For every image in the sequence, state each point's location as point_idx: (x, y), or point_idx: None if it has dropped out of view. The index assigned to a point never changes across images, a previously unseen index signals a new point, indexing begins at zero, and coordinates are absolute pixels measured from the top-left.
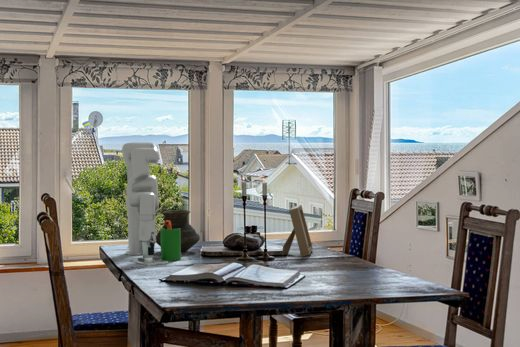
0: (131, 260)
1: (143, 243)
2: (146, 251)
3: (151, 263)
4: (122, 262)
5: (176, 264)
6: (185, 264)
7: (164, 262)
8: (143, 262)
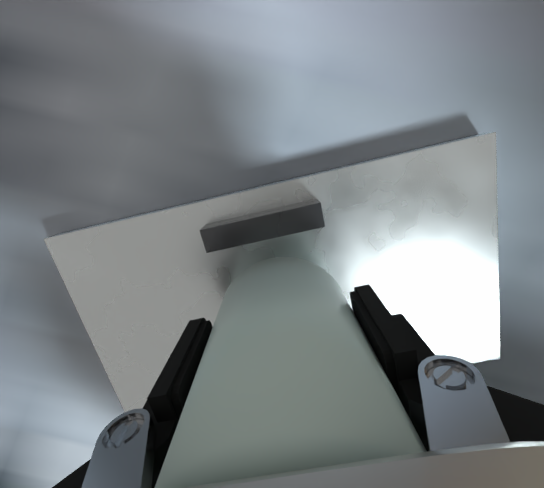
0: (426, 147)
1: (240, 398)
2: (214, 329)
3: (63, 276)
4: (418, 23)
5: (56, 440)
6: (36, 484)
7: (121, 389)
8: (136, 217)
